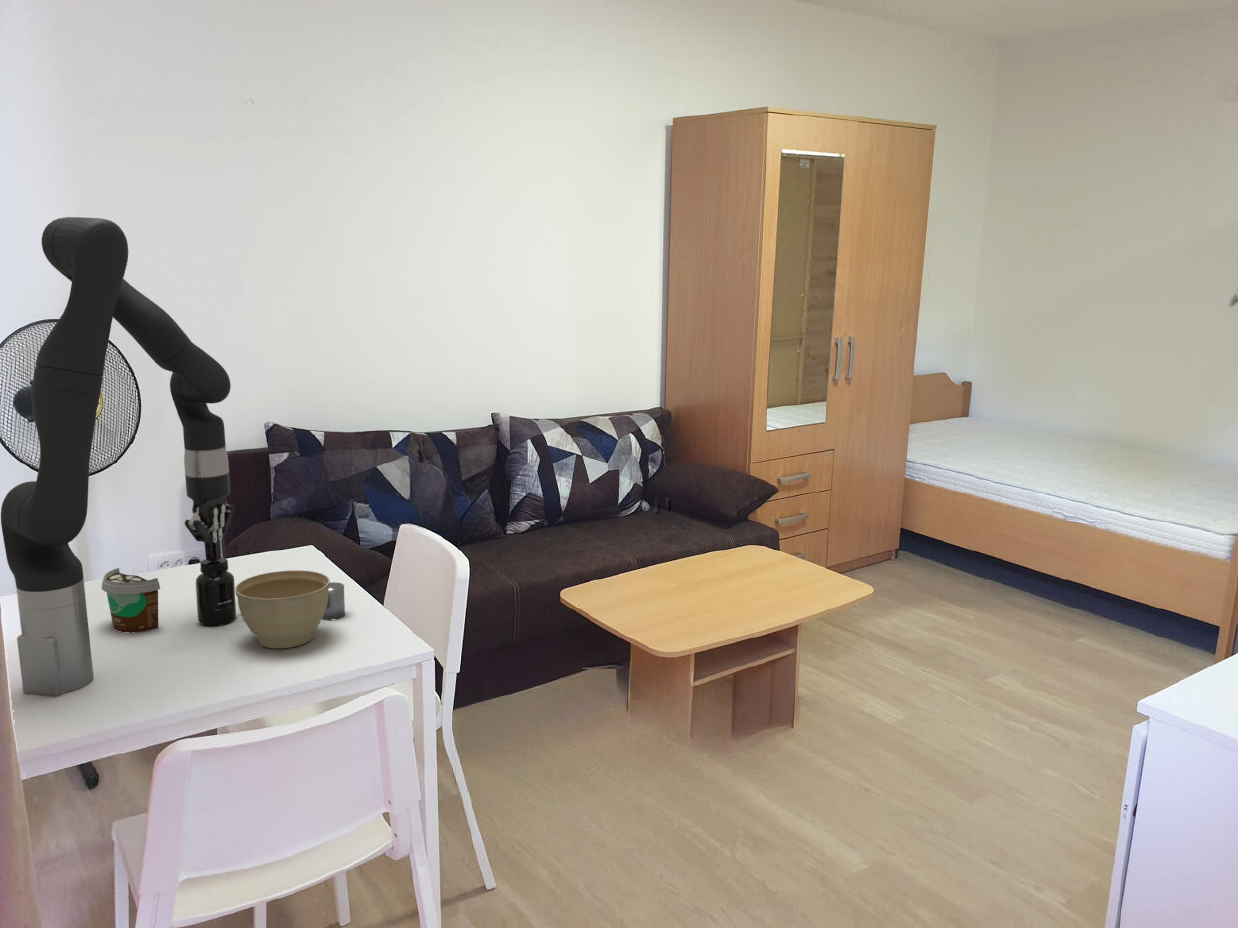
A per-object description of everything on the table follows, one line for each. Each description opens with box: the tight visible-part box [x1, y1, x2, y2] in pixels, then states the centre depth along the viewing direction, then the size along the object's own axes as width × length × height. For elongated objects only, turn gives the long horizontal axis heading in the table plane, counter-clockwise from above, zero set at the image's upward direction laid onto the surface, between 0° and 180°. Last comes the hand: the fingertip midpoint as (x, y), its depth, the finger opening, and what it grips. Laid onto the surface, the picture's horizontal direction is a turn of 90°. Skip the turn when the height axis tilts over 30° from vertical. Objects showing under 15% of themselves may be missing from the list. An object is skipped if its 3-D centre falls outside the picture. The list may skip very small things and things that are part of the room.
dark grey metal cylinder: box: [322, 581, 346, 621], centre depth 183 cm, size 5×5×6 cm
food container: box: [101, 567, 161, 634], centre depth 174 cm, size 12×6×10 cm, turn 62°
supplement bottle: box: [195, 557, 237, 627], centre depth 178 cm, size 7×7×12 cm
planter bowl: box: [235, 569, 331, 649], centre depth 170 cm, size 16×16×11 cm
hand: (213, 559), depth 177 cm, fingers closed
